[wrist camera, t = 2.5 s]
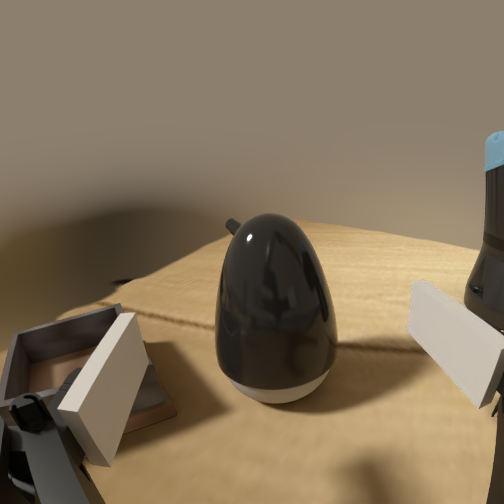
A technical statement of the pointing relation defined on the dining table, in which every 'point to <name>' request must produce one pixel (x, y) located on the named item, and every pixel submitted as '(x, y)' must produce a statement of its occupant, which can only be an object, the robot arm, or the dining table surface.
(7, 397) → the holder
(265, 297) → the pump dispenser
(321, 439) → the dining table surface
